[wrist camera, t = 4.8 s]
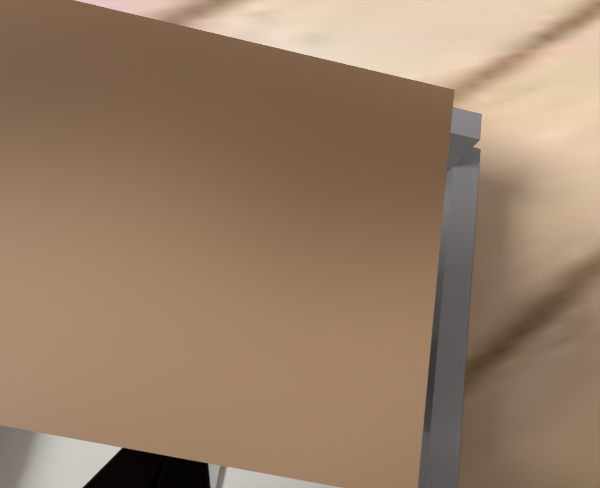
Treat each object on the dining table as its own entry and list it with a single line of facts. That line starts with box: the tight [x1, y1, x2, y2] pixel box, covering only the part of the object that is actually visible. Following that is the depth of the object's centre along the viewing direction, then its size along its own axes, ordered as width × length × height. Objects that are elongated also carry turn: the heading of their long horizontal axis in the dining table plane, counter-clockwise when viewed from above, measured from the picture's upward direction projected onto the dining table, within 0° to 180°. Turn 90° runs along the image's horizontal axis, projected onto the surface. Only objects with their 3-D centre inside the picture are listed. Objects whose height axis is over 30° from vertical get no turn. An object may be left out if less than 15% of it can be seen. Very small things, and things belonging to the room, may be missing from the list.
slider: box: [0, 0, 454, 488], centre depth 10 cm, size 5×6×11 cm
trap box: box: [0, 107, 482, 488], centre depth 14 cm, size 19×16×5 cm
